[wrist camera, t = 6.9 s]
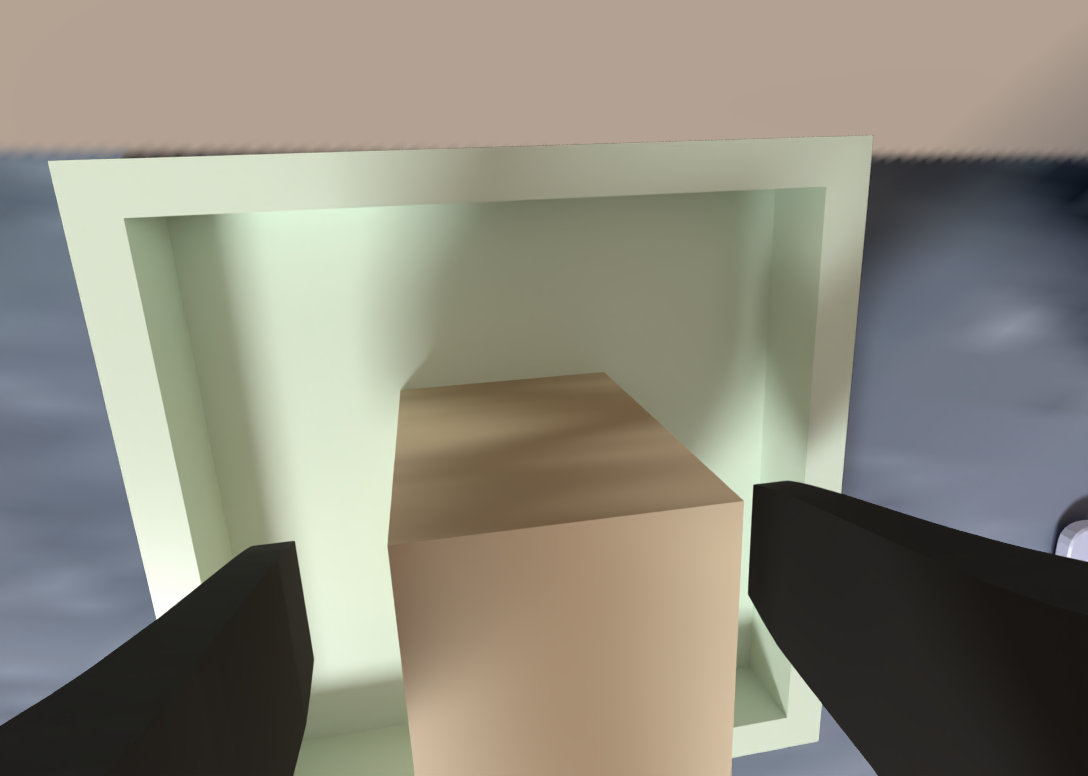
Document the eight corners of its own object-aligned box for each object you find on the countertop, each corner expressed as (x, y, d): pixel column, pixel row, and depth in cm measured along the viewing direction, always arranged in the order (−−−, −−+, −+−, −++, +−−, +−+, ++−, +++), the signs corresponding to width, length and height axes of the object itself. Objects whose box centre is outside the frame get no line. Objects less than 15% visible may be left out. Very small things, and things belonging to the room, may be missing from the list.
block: (604, 372, 13) (743, 500, 8) (607, 590, 15) (727, 836, 9) (400, 389, 13) (387, 545, 7) (424, 617, 14) (429, 901, 8)
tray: (801, 145, 13) (873, 134, 11) (768, 674, 17) (818, 741, 15) (115, 167, 11) (48, 161, 9) (242, 765, 15) (213, 857, 13)
